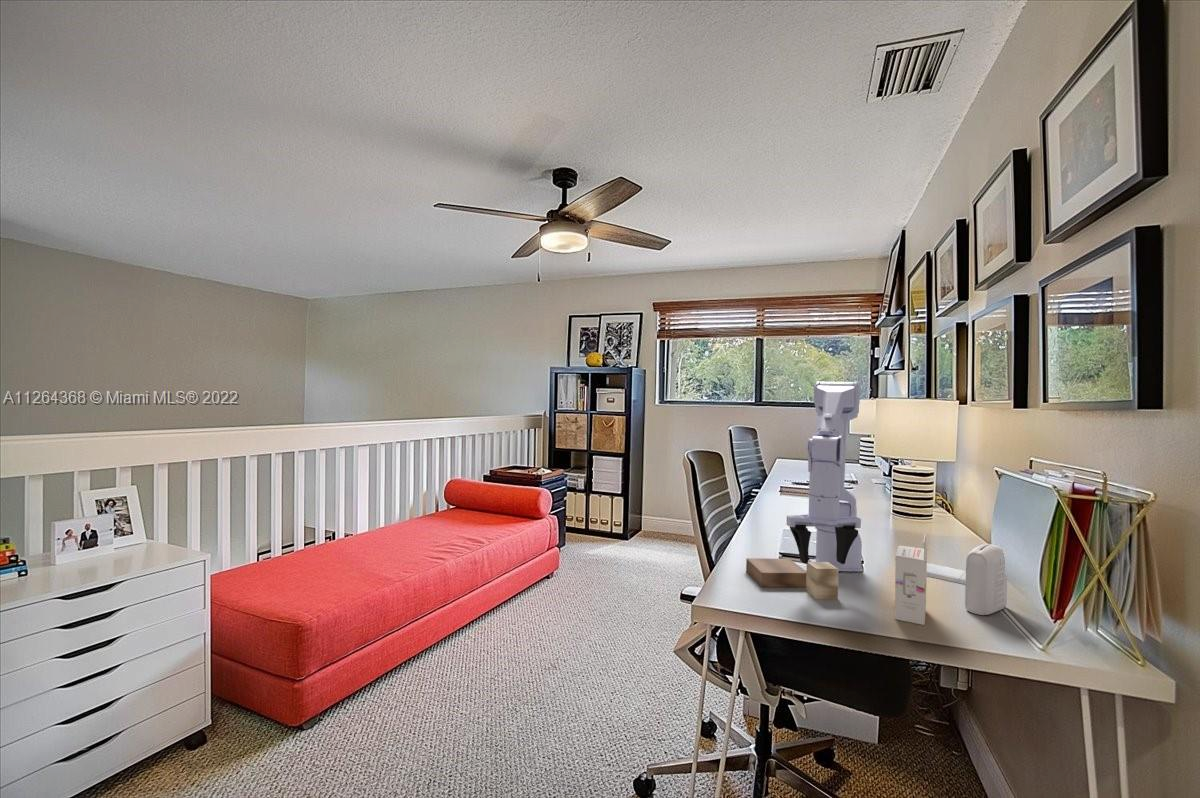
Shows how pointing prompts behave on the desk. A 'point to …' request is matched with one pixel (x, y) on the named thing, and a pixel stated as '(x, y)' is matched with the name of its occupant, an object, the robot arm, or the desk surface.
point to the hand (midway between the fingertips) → (822, 562)
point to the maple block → (822, 580)
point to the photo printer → (985, 580)
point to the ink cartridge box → (911, 583)
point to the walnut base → (776, 572)
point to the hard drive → (946, 573)
